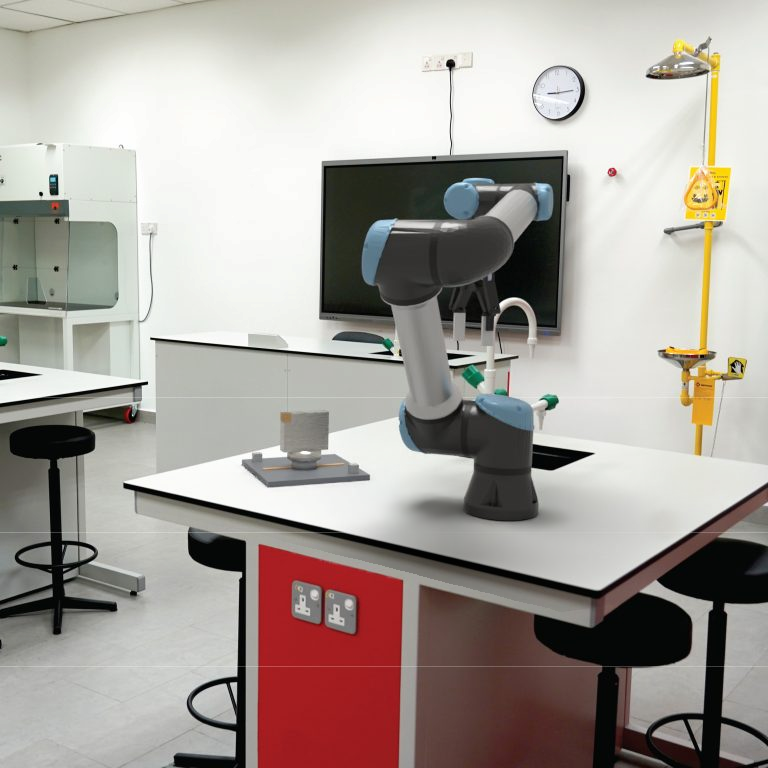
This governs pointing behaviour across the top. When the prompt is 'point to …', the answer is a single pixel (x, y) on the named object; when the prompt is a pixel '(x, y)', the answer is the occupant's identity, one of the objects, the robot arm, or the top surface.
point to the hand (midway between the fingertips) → (472, 343)
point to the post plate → (303, 470)
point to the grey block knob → (304, 434)
